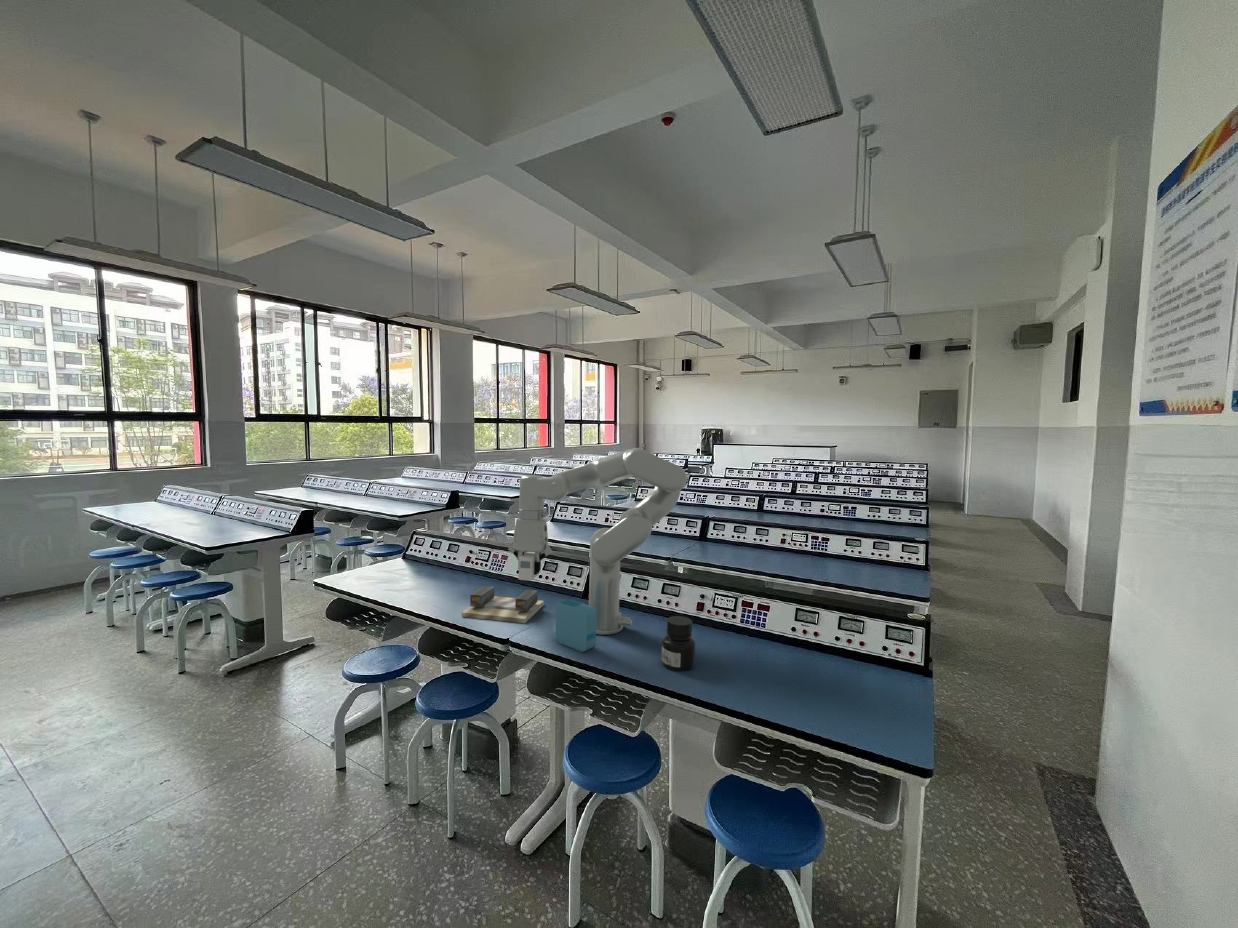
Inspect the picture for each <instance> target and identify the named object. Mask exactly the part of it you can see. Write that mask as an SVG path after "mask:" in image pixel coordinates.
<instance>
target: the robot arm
mask: <svg viewBox="0 0 1238 928" xmlns="http://www.w3.org/2000/svg"><path fill="white" fill-rule="evenodd" d="M633 477H635V478H637V479H639V480H641V481H643V482H645V483H647V484H649V485H651V486H653V487H654V488H653V490H652V491H651V492H650V493H649V494H648V495H646V496H645V497H644V498H643V499H642V500H640V501H639V502H637V503H636V504H635V505H633V506H632V507H630V508H628V509H627V510H626V511H624V512H623V513H622V514H621V515H620V516H619V520H618V522H617V523H616V524H614V525H613V526H612V527H602V528H599V529H597V530H596V531H594V533H593V534H592V536H591V538H590V540H589V541H590V542H589V552H590V553H589V581H588V582H589V586H588V587H589V588H588V592H589V593H588V605H590V606H593V607H594V608H595V609H596V612H597V620H596V635H605V636H606V635H614V634H617V633H619V632H622V630H623V629H624V626H627V627H632V626H633V619H630V616H623V615H622V612H621V611H620V584H621V582H620V581H621V561H622V560H623V559H625V558H626V557H627V556H629V555H630V554H632V553H633V552H634V551H635V550H636V549H638V548H640V547H641V546H643V544H645V543H646V542H647V540H648V539H649V538H650V537H651V533H652V527H653V526H655V525H657V523H660V521H661V520H663V518H665V517H666V516H667V515H669V514H670V513H671V512H672V511H673V509H674V508H675V507H676V505H677V503H678V501H679V498H680V494H681V490H683V489H684V487H685V486H686V484H687V480H688V478H687V474H686V472H685V470H684V469H683V468H682V467H681V466H680V465H677V464H675V463H673V462H671V461H668V460H666V459H664V458H662V457H659V456H657V455H656V454H653V453H651V452H649V451H648V450H646V449H643V448H641V447H633V448H629V449H625V450H623V451H620V452H616V453H613V454H611V455H608V456H607V455H606V456H605V457H601V458H598V459H595V460H593V461H590V462H588V463H585V464H583V465H579V466H576V467H573V468H570V469H568V470H564V471H561V472H558V473H555V474H553V475H551V476H547V477H546V476H542V475H539V474H537V475H536V474H525V475H522V476H521V477H520V479H519V497H518V498H519V500H518V501H519V502H518V504H519V505H518V517H517V518H516V522H515V525H514V531H513V540H512V542H511V544H510V545H509V546H508V548H507V550H508V551H509V552H510V553H511V554H513V555H514V557H515V558H516V560H517V562H519V557H520V556H522V555H523V554H525V553H526V552H535V558H536V562H535V563H534V575H537V574H538V573H539V572H540V573H541V569H542V568H541V567H542V564H541V562H542V560H543V559H545V558H546V557H547V556H549V555H551V554H552V553H553V550H552V548H551V547H550V545H549V536H548V535H549V534H548V525H547V524H548V523H547V519H546V517H548V515H549V512H547V511H545V507H544V506H545V504H544V503H545V500H547V501H553V502H554V501H555V502H556V501H557V502H558V501H562V500H564V499H565V498H566V497H567V496H568V495H570V494H573V493H575V492H579V491H581V490H585V489H590V488H601V487H606V486H610V485H612V484H615V483H618V482H620V481H623V480H627V479H630V478H633ZM544 550H545V551H544ZM517 568H518V570H519V564H518V567H517ZM537 576H538V575H537Z"/></svg>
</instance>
